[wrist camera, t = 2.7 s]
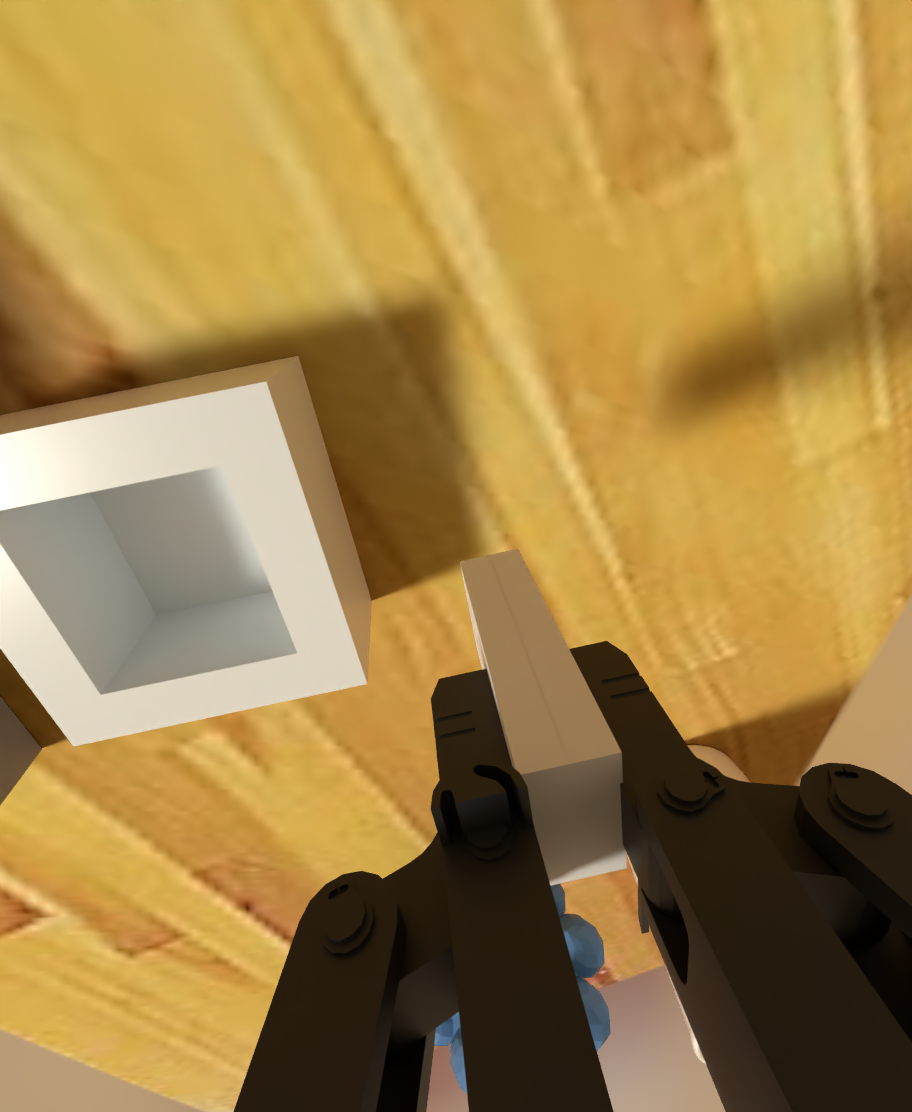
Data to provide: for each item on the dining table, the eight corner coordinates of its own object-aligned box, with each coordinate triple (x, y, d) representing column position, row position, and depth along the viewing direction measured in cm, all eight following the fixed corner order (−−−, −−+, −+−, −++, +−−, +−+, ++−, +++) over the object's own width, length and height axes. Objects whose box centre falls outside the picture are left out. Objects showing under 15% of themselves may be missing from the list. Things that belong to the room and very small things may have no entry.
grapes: (546, 790, 32) (624, 1039, 22) (576, 850, 35) (656, 1091, 25) (375, 854, 33) (369, 1122, 23) (418, 906, 36) (431, 1162, 26)
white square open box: (299, 354, 20) (265, 381, 14) (371, 598, 25) (367, 683, 19) (5, 413, 19) (-139, 462, 14) (141, 646, 25) (73, 746, 19)
